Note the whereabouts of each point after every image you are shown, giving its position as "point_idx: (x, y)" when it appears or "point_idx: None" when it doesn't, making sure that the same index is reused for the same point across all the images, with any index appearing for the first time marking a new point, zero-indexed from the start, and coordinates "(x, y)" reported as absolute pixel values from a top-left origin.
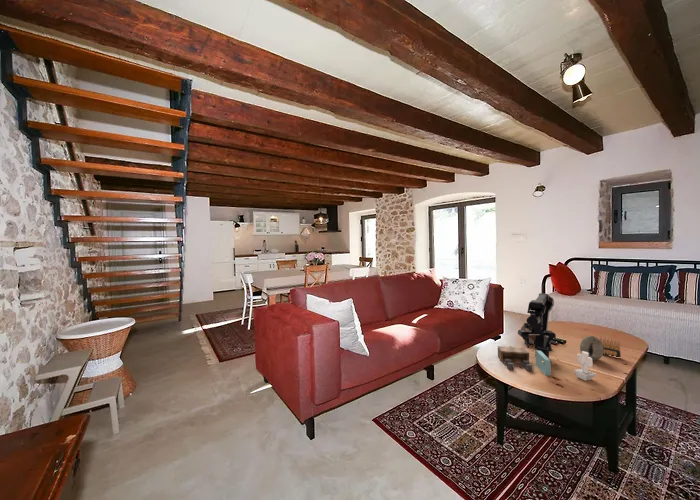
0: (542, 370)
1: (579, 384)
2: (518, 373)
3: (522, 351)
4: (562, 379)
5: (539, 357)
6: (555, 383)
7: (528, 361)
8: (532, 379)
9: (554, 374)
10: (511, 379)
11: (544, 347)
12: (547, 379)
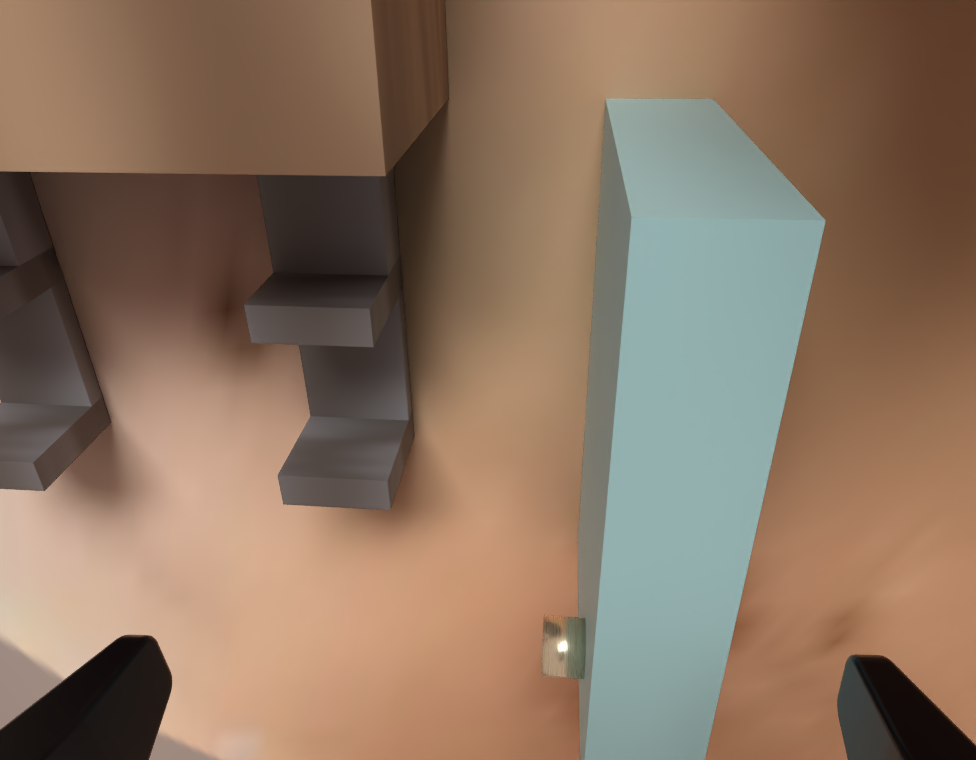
0: (583, 459)
1: None
2: (178, 529)
3: (164, 76)
4: (776, 629)
5: (600, 442)
6: None
7: (352, 342)
8: (341, 655)
9: None
10: None
11: (851, 727)
12: None
